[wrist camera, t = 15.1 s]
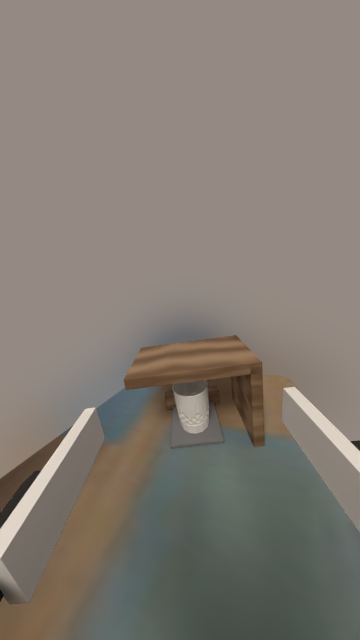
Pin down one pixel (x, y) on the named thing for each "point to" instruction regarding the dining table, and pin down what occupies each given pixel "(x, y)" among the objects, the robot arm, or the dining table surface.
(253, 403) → the walnut shelf
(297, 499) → the dining table surface
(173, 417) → the felt pad
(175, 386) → the white cup
